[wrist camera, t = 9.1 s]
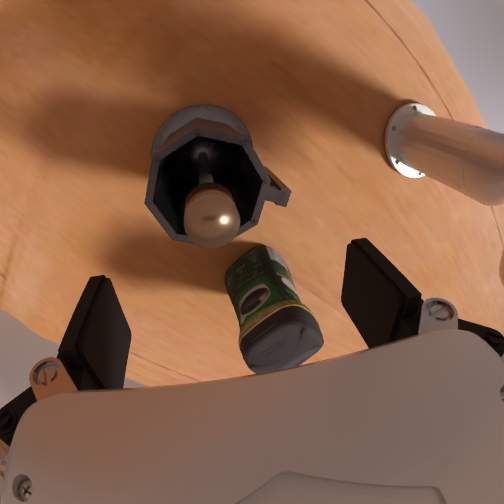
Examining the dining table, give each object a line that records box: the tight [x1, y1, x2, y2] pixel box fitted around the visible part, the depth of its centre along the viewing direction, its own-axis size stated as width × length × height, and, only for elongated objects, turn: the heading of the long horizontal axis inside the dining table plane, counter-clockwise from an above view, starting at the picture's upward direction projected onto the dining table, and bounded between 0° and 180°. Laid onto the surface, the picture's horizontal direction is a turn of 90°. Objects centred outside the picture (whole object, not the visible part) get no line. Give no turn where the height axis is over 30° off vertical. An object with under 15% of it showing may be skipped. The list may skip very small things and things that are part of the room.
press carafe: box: [145, 105, 291, 244], centre depth 30 cm, size 14×13×17 cm
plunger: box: [174, 136, 240, 248], centre depth 26 cm, size 7×7×22 cm
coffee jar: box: [224, 246, 324, 374], centre depth 39 cm, size 10×8×19 cm
